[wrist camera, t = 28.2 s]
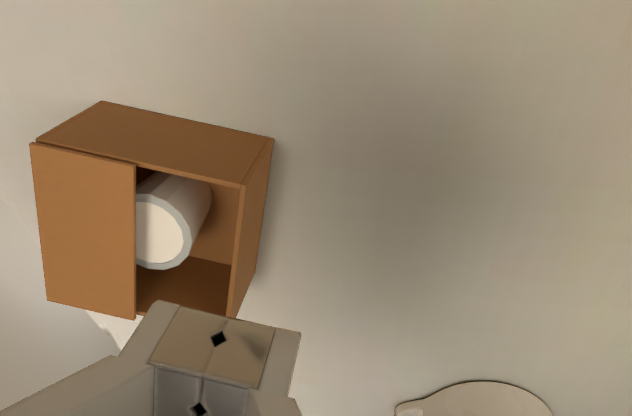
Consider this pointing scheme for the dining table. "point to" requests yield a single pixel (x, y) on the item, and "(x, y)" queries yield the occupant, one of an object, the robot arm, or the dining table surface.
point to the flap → (86, 229)
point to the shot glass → (169, 218)
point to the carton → (197, 163)
